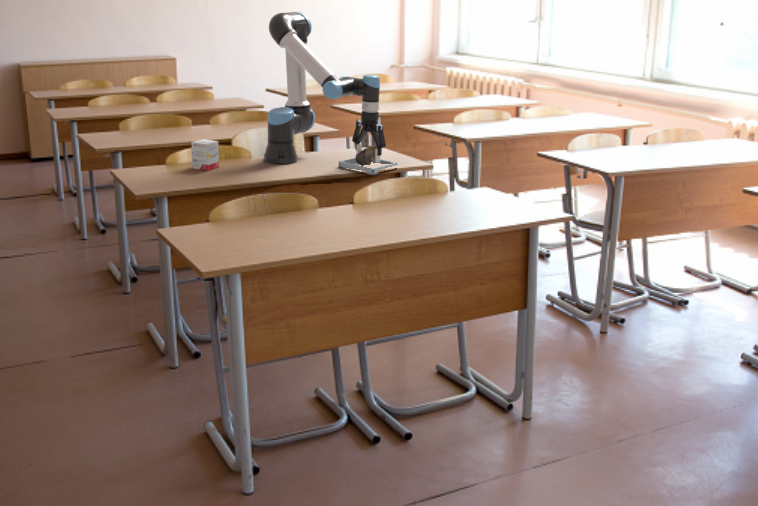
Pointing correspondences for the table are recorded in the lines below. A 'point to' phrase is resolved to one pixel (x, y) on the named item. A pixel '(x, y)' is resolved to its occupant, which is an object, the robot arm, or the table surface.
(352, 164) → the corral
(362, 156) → the rock
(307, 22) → the robot arm
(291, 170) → the table surface
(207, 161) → the ink box
